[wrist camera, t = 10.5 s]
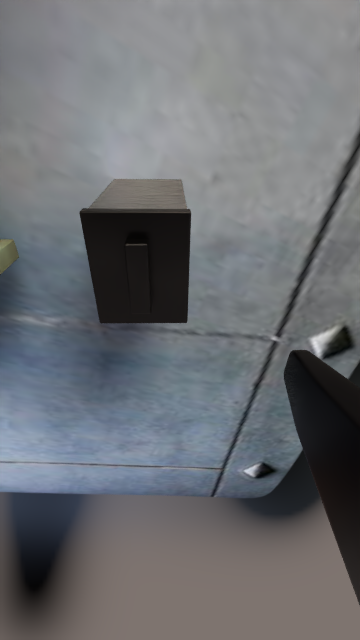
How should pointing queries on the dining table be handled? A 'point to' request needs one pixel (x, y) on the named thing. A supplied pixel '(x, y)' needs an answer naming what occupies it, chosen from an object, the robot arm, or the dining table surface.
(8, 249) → the drawer
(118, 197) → the metal box
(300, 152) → the dining table surface
